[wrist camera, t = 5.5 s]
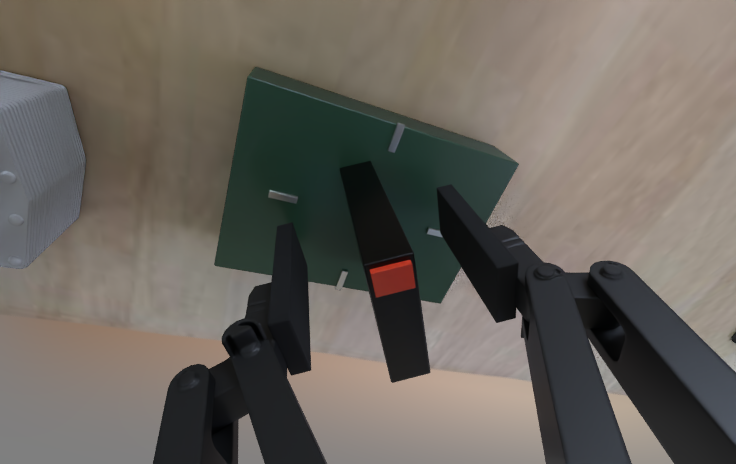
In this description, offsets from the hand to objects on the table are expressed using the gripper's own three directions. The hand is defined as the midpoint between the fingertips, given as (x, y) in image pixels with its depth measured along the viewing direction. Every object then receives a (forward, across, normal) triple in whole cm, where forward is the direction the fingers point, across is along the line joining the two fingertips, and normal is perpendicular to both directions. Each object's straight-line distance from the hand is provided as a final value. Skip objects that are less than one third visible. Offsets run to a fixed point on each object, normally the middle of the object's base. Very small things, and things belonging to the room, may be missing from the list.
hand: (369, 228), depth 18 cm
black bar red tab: (+1, 0, 0) cm, 1 cm away
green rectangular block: (+4, 0, 0) cm, 4 cm away
